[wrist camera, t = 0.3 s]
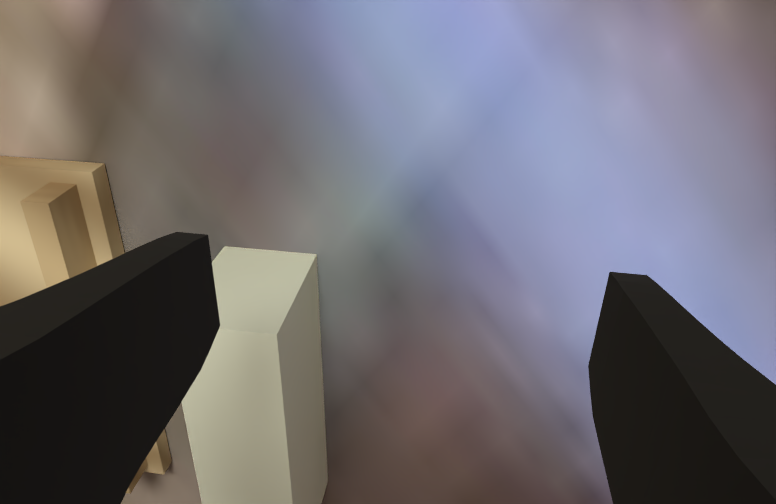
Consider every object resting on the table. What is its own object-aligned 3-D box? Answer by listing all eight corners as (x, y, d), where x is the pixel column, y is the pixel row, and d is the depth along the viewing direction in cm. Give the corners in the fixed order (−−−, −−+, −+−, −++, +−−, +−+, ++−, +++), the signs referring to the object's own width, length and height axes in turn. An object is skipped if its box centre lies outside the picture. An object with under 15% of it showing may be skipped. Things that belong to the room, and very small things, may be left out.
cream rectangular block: (329, 477, 29) (299, 579, 25) (255, 468, 29) (214, 566, 25) (318, 252, 23) (276, 334, 19) (226, 243, 23) (165, 322, 19)
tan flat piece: (171, 461, 30) (147, 503, 28) (9, 439, 31) (-26, 478, 29) (104, 163, 22) (64, 191, 20) (-108, 148, 23) (-166, 172, 21)
